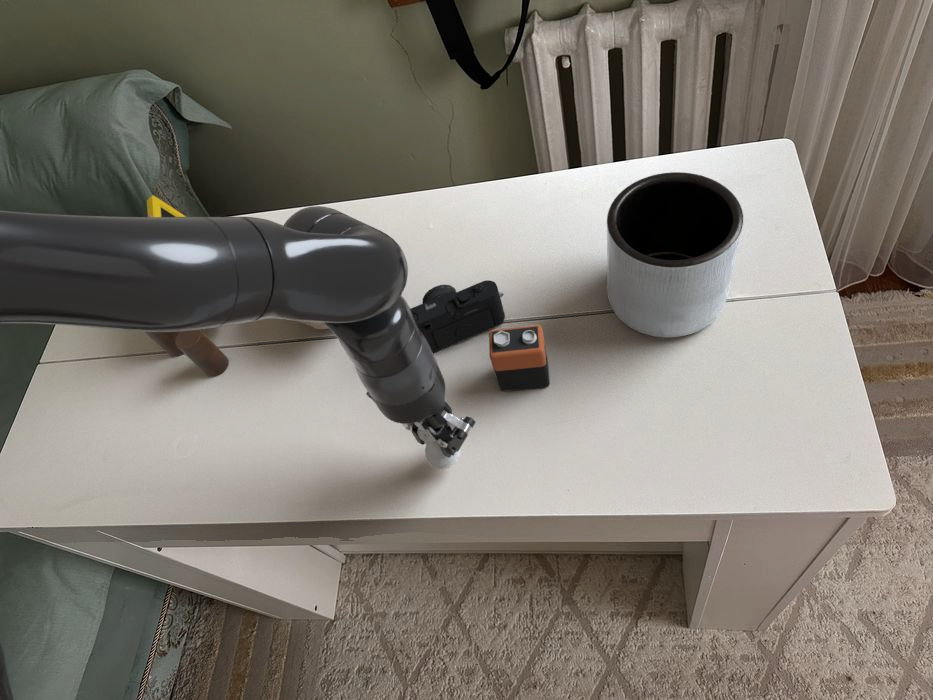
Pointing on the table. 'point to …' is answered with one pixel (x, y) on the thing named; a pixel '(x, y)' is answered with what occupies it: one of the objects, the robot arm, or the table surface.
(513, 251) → the table surface
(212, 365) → the near post
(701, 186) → the planter
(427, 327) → the camera
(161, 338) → the far post
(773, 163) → the table surface
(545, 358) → the battery
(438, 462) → the rook chess piece
